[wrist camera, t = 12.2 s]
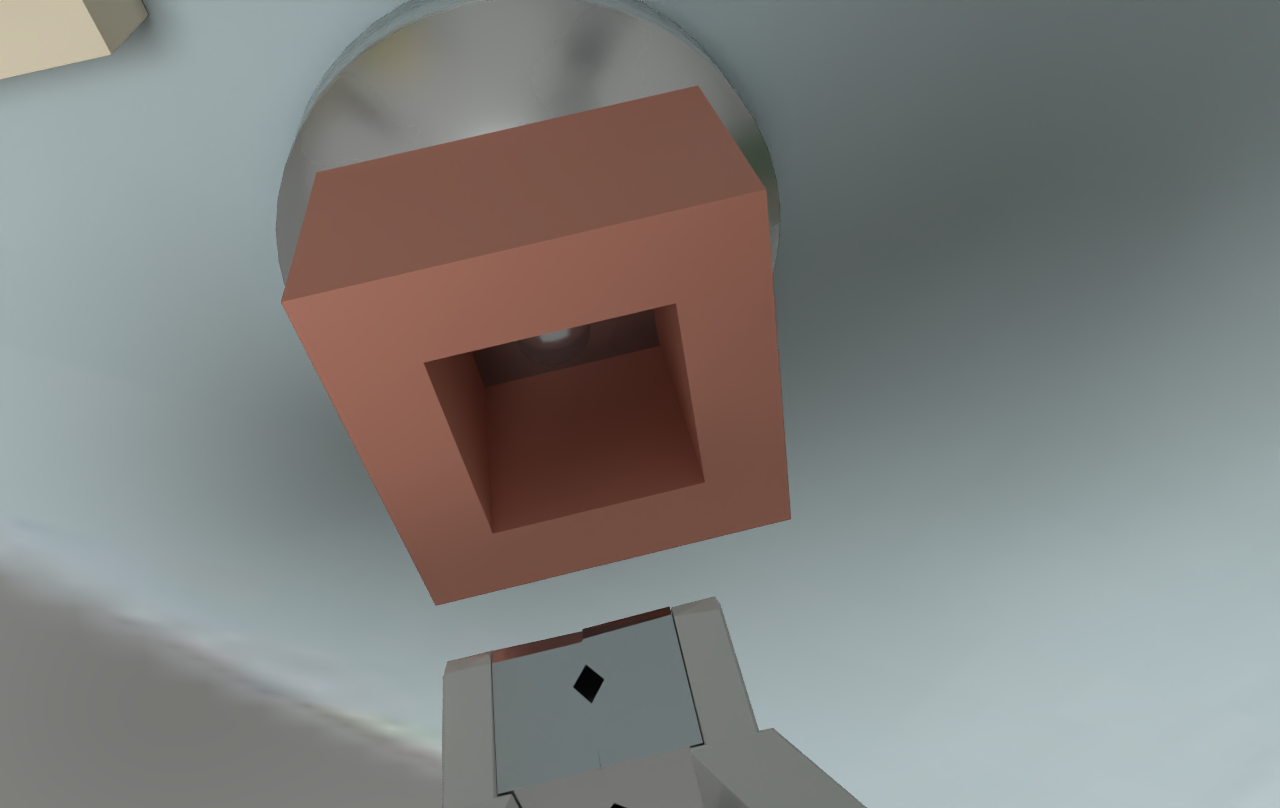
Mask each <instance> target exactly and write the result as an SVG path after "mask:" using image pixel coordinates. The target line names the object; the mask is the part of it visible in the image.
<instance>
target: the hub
mask: <svg viewBox="0 0 1280 808" xmlns="http://www.w3.org/2000/svg"><path fill="white" fill-rule="evenodd" d="M697 85H698V86H699V87H700V89H701V91H702V92H703V94H704V95H705V97H706V98H707V100H708V101H709V103H710V104H711V106H712V107H713V109H714V110H715V112H716V113H717V115H718V117H719V118H720V120H721V121H722V123H723V124H724V126H725V127H726V129H727V130H728V132H729V133H730V135H731V136H732V138H733V139H734V141H735V143H736V144H737V146H738V147H739V149H740V150H741V152H742V153H743V155H744V156H745V158H746V159H747V161H748V162H749V164H750V165H751V167H752V168H753V170H754V172H755V173H756V175H757V176H758V178H759V179H760V181H761V182H762V184H763V185H764V187H765V188H766V193H767V206H768V219H769V233H770V246H771V259H772V272H773V270H774V266H775V263H776V257H777V250H778V243H779V236H780V203H779V196H778V189H777V182H776V176H775V172H774V169H773V166H772V162H771V159H770V155H769V152H768V148H767V146H766V144H765V142H764V140H763V137H762V135H761V133H760V131H759V129H758V127H757V124H756V122H755V120H754V119H753V117H752V116H751V114H750V112H749V111H748V109H747V108H746V106H745V105H744V103H743V102H742V100H741V99H740V97H739V96H738V94H737V93H736V91H735V90H734V89H733V87H732V86H731V85H730V83H729V82H728V81H727V79H726V78H725V76H724V75H723V74H722V72H721V71H720V70H719V68H718V67H717V66H716V64H715V63H714V62H713V61H712V60H711V59H710V58H709V56H708V55H707V54H706V53H705V52H704V51H703V50H702V49H701V47H700V46H699V45H698V44H697V43H696V42H695V41H694V40H693V39H692V38H691V37H690V36H688V35H687V34H686V33H685V32H684V31H682V30H681V29H680V28H679V27H678V26H677V25H675V24H674V23H673V22H672V21H671V20H669V19H668V18H666V17H664V16H663V15H661V14H660V13H658V12H656V11H655V10H653V9H652V8H650V7H648V6H647V5H645V4H644V3H642V2H640V1H638V0H411V1H409V2H407V3H405V4H402V5H401V6H399V7H398V8H396V9H395V10H393V11H392V12H390V13H389V14H387V15H386V16H384V17H383V18H381V19H380V20H378V21H376V22H375V23H373V24H372V25H371V26H370V27H369V28H368V29H366V30H365V31H364V32H363V33H362V34H361V35H360V36H359V37H358V38H356V39H355V40H354V41H353V42H352V43H351V44H350V45H349V46H348V47H347V48H346V49H345V50H344V51H343V52H342V54H341V55H340V56H339V57H338V59H337V60H336V61H335V62H334V63H333V65H332V66H331V67H330V68H329V70H328V71H327V72H326V73H325V75H324V77H323V78H322V80H321V82H320V83H319V85H318V87H317V88H316V90H315V92H314V94H313V95H312V97H311V99H310V100H309V102H308V105H307V107H306V110H305V112H304V115H303V117H302V120H301V123H300V125H299V128H298V130H297V133H296V136H295V139H294V142H293V145H292V147H291V150H290V153H289V156H288V159H287V162H286V165H285V169H284V173H283V178H282V182H281V187H280V191H279V196H278V204H277V221H276V236H277V247H278V257H279V264H280V268H281V272H282V276H283V280H284V284H285V286H286V282H287V278H288V275H289V271H290V267H291V264H292V260H293V256H294V253H295V249H296V245H297V242H298V238H299V234H300V231H301V227H302V223H303V219H304V216H305V212H306V208H307V205H308V201H309V197H310V194H311V190H312V186H313V183H314V179H315V175H316V172H320V171H325V170H329V169H333V168H338V167H342V166H347V165H351V164H355V163H360V162H364V161H369V160H373V159H377V158H382V157H386V156H390V155H395V154H399V153H404V152H408V151H412V150H417V149H421V148H426V147H430V146H434V145H439V144H443V143H447V142H452V141H456V140H461V139H465V138H469V137H474V136H478V135H483V134H487V133H491V132H496V131H500V130H504V129H509V128H513V127H518V126H522V125H526V124H531V123H535V122H540V121H544V120H548V119H553V118H557V117H561V116H566V115H570V114H575V113H579V112H583V111H588V110H592V109H597V108H601V107H605V106H610V105H614V104H618V103H623V102H627V101H632V100H636V99H640V98H645V97H649V96H654V95H658V94H662V93H667V92H671V91H675V90H680V89H684V88H689V87H693V86H697ZM657 346H660V344H659V339H658V334H657V328H656V323H655V317H654V312H653V309H649V310H645V311H641V312H637V313H632V314H628V315H624V316H620V317H615V318H611V319H607V320H603V321H598V322H594V323H590V324H586V325H581V326H577V327H573V328H569V329H564V330H560V331H556V332H552V333H547V334H543V335H539V336H535V337H530V338H526V339H522V340H518V341H513V342H509V343H505V344H501V345H496V346H492V347H488V348H484V349H479V350H475V351H472V354H473V357H474V360H475V362H476V365H477V368H478V371H479V374H480V376H481V379H482V382H483V385H484V387H488V386H492V385H497V384H501V383H505V382H509V381H514V380H518V379H522V378H526V377H530V376H535V375H539V374H543V373H547V372H552V371H556V370H560V369H564V368H568V367H573V366H577V365H581V364H585V363H590V362H594V361H598V360H602V359H606V358H611V357H615V356H619V355H623V354H628V353H632V352H636V351H640V350H644V349H649V348H653V347H657Z"/></svg>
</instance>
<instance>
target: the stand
mask: <svg viewBox="0 0 1280 808" xmlns="http://www.w3.org/2000/svg"><path fill="white" fill-rule="evenodd" d="M147 16H148V13H147V11H146V9H145V7H144V5H143V3H142V1H141V0H0V79H4V78H8V77H13V76H17V75H22V74H26V73H31V72H35V71H40V70H44V69H49V68H53V67H58V66H62V65H67V64H71V63H76V62H80V61H85V60H89V59H94V58H98V57H103V56H107V55H112V53H113V52H114V51H115V50H116V49H117V48H118V47H119V46H120V45H121V44H122V43H123V42H124V41H125V40H126V39H127V37H128V36H129V35H130V34H131V33H132V32H133V31H134V30H135V29H136V28H137V27H138V26H139V25H140V24H141V23H142V21H143V20H144V19H145V18H146V17H147Z"/></svg>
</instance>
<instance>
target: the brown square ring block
mask: <svg viewBox="0 0 1280 808" xmlns="http://www.w3.org/2000/svg"><path fill="white" fill-rule="evenodd" d="M281 303H282V305H283V307H284V309H285V311H286V313H287V315H288V317H289V319H290V321H291V323H292V325H293V327H294V329H295V331H296V333H297V335H298V337H299V339H300V340H301V342H302V344H303V346H304V348H305V350H306V352H307V354H308V356H309V358H310V360H311V362H312V364H313V366H314V368H315V370H316V372H317V374H318V376H319V378H320V380H321V382H322V384H323V386H324V388H325V389H326V391H327V393H328V395H329V397H330V399H331V401H332V403H333V405H334V407H335V409H336V411H337V413H338V415H339V417H340V419H341V421H342V423H343V425H344V427H345V429H346V431H347V433H348V435H349V437H350V438H351V440H352V442H353V444H354V446H355V448H356V450H357V452H358V454H359V456H360V458H361V460H362V462H363V464H364V466H365V468H366V470H367V472H368V474H369V476H370V478H371V480H372V482H373V484H374V486H375V488H376V489H377V491H378V493H379V495H380V497H381V499H382V501H383V503H384V505H385V507H386V509H387V511H388V513H389V515H390V517H391V519H392V521H393V523H394V525H395V527H396V529H397V531H398V533H399V535H400V537H401V538H402V540H403V542H404V544H405V546H406V548H407V550H408V552H409V554H410V556H411V558H412V560H413V562H414V564H415V566H416V568H417V570H418V572H419V574H420V576H421V578H422V580H423V582H424V584H425V586H426V587H427V589H428V591H429V593H430V595H431V597H432V599H433V601H434V603H435V605H440V604H445V603H449V602H453V601H457V600H461V599H465V598H469V597H473V596H477V595H482V594H486V593H490V592H494V591H498V590H502V589H506V588H510V587H514V586H518V585H523V584H527V583H531V582H535V581H539V580H543V579H547V578H551V577H555V576H559V575H564V574H568V573H572V572H576V571H580V570H584V569H588V568H592V567H596V566H600V565H605V564H609V563H613V562H617V561H621V560H625V559H629V558H633V557H637V556H641V555H646V554H650V553H654V552H658V551H662V550H666V549H670V548H674V547H678V546H682V545H687V544H691V543H695V542H699V541H703V540H707V539H711V538H715V537H719V536H723V535H728V534H732V533H736V532H740V531H744V530H748V529H752V528H756V527H760V526H764V525H769V524H773V523H777V522H781V521H785V520H789V519H791V512H790V499H789V486H788V472H787V459H786V446H785V432H784V419H783V406H782V392H781V379H780V366H779V352H778V339H777V326H776V312H775V299H774V286H773V272H772V259H771V246H770V233H769V219H768V206H767V193H766V188H765V187H764V185H763V184H762V182H761V181H760V179H759V178H758V176H757V175H756V173H755V172H754V170H753V168H752V167H751V165H750V164H749V162H748V161H747V159H746V158H745V156H744V155H743V153H742V152H741V150H740V149H739V147H738V146H737V144H736V143H735V141H734V139H733V138H732V136H731V135H730V133H729V132H728V130H727V129H726V127H725V126H724V124H723V123H722V121H721V120H720V118H719V117H718V115H717V113H716V112H715V110H714V109H713V107H712V106H711V104H710V103H709V101H708V100H707V98H706V97H705V95H704V94H703V92H702V91H701V89H700V87H699V86H698V85H697V86H693V87H689V88H684V89H680V90H675V91H671V92H667V93H662V94H658V95H654V96H649V97H645V98H640V99H636V100H632V101H627V102H623V103H618V104H614V105H610V106H605V107H601V108H597V109H592V110H588V111H583V112H579V113H575V114H570V115H566V116H561V117H557V118H553V119H548V120H544V121H540V122H535V123H531V124H526V125H522V126H518V127H513V128H509V129H504V130H500V131H496V132H491V133H487V134H483V135H478V136H474V137H469V138H465V139H461V140H456V141H452V142H447V143H443V144H439V145H434V146H430V147H426V148H421V149H417V150H412V151H408V152H404V153H399V154H395V155H390V156H386V157H382V158H377V159H373V160H369V161H364V162H360V163H355V164H351V165H347V166H342V167H338V168H333V169H329V170H325V171H320V172H316V175H315V179H314V183H313V186H312V190H311V194H310V197H309V201H308V205H307V208H306V212H305V216H304V219H303V223H302V227H301V231H300V234H299V238H298V242H297V245H296V249H295V253H294V256H293V260H292V264H291V267H290V271H289V275H288V278H287V282H286V286H285V289H284V293H283V297H282V300H281ZM649 309H653V312H654V317H655V323H656V328H657V334H658V339H659V344H660V346H657V347H653V348H649V349H644V350H640V351H636V352H632V353H628V354H623V355H619V356H615V357H611V358H606V359H602V360H598V361H594V362H590V363H585V364H581V365H577V366H573V367H568V368H564V369H560V370H556V371H552V372H547V373H543V374H539V375H535V376H530V377H526V378H522V379H518V380H514V381H509V382H505V383H501V384H497V385H492V386H488V387H484V385H483V382H482V379H481V376H480V374H479V371H478V368H477V365H476V362H475V360H474V357H473V354H472V351H475V350H479V349H484V348H488V347H492V346H496V345H501V344H505V343H509V342H513V341H518V340H522V339H526V338H530V337H535V336H539V335H543V334H547V333H552V332H556V331H560V330H564V329H569V328H573V327H577V326H581V325H586V324H590V323H594V322H598V321H603V320H607V319H611V318H615V317H620V316H624V315H628V314H632V313H637V312H641V311H645V310H649Z"/></svg>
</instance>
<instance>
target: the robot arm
mask: <svg viewBox="0 0 1280 808" xmlns="http://www.w3.org/2000/svg"><path fill="white" fill-rule="evenodd" d="M671 613H672V614H671ZM672 617H673V618H672ZM442 808H867V807H865V806H864V805H863V804H862V803H861V802H859V801H858V800H857V799H856V798H855V797H854V796H852V795H851V794H850V793H849V792H848V791H847V790H845V789H844V788H843V787H842V786H841V785H839V784H838V783H837V782H836V781H835V780H834V779H832V778H831V777H830V776H829V775H828V774H826V773H825V772H824V771H823V770H822V769H821V768H819V767H818V766H817V765H816V764H815V763H814V762H812V761H811V760H810V759H809V758H808V757H806V756H805V755H804V754H803V753H802V752H801V751H799V750H798V749H797V748H796V747H795V746H794V745H792V744H791V743H790V742H789V741H788V740H786V739H785V738H784V737H783V736H782V735H781V734H779V733H778V732H777V731H776V730H775V729H774V728H771V729H766V730H761V731H759V729H758V726H757V723H756V719H755V716H754V713H753V709H752V706H751V703H750V700H749V696H748V693H747V690H746V687H745V683H744V680H743V677H742V674H741V670H740V667H739V664H738V661H737V657H736V654H735V651H734V648H733V644H732V641H731V638H730V635H729V631H728V628H727V625H726V621H725V618H724V615H723V612H722V608H721V605H720V603H719V602H718V600H717V599H716V597H715V596H714V597H710V598H706V599H702V600H699V601H695V602H691V603H687V604H683V605H679V606H675V607H672V608H671V610H670V607H666V608H662V609H658V610H654V611H651V612H647V613H643V614H639V615H635V616H631V617H628V618H624V619H620V620H616V621H612V622H608V623H605V624H601V625H597V626H593V627H589V628H585V629H583V631H581V632H576V633H572V634H567V635H563V636H558V637H554V638H549V639H545V640H540V641H536V642H531V643H527V644H522V645H518V646H513V647H509V648H504V649H499V650H495V651H490V652H486V653H482V654H477V655H473V656H469V657H465V658H461V659H457V660H452V661H448V662H447V665H446V668H445V672H444V676H443V723H442Z"/></svg>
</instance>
